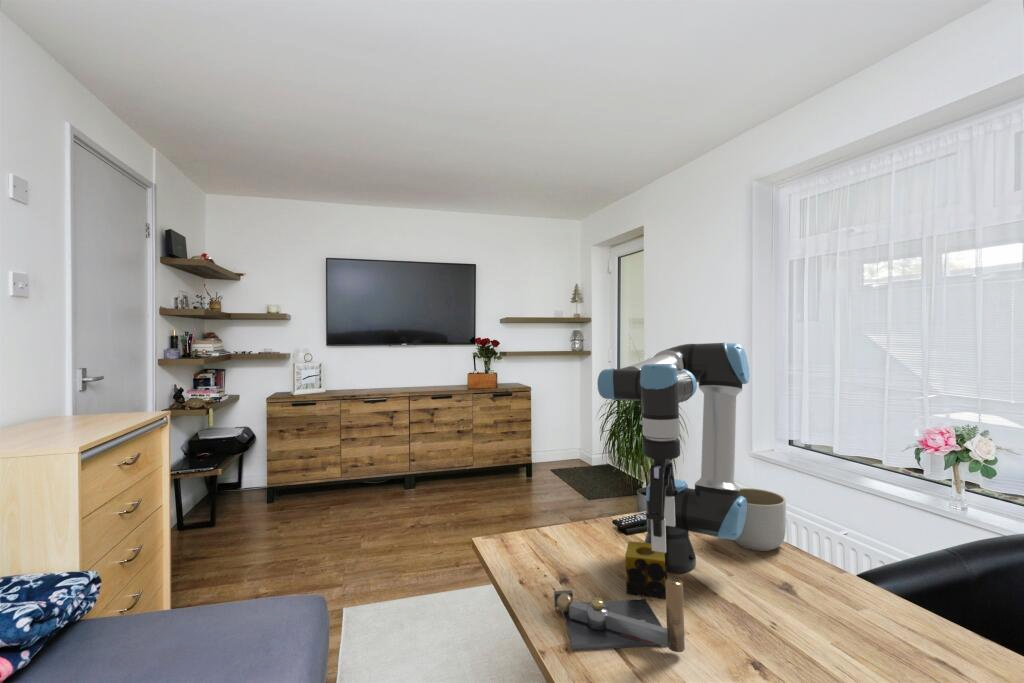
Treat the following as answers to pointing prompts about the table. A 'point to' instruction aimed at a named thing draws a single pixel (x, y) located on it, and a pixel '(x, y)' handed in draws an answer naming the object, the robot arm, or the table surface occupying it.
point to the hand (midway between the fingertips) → (664, 537)
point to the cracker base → (605, 638)
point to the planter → (763, 520)
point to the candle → (645, 571)
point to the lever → (637, 628)
